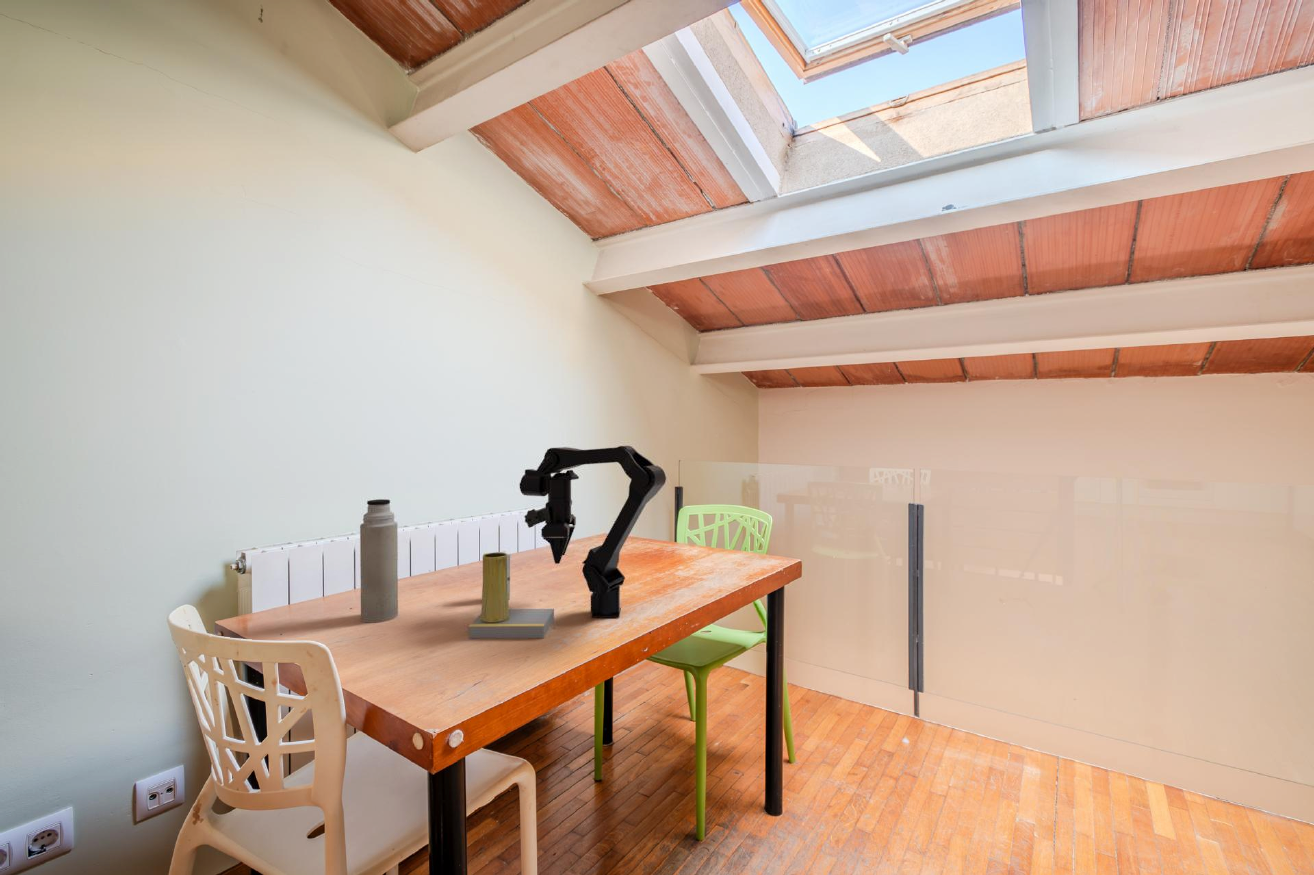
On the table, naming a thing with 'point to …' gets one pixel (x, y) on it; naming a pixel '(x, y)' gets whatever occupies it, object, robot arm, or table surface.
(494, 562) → the vase
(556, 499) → the robot arm
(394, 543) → the thermos bottle
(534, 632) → the gray and yellow box
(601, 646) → the table surface
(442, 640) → the table surface
